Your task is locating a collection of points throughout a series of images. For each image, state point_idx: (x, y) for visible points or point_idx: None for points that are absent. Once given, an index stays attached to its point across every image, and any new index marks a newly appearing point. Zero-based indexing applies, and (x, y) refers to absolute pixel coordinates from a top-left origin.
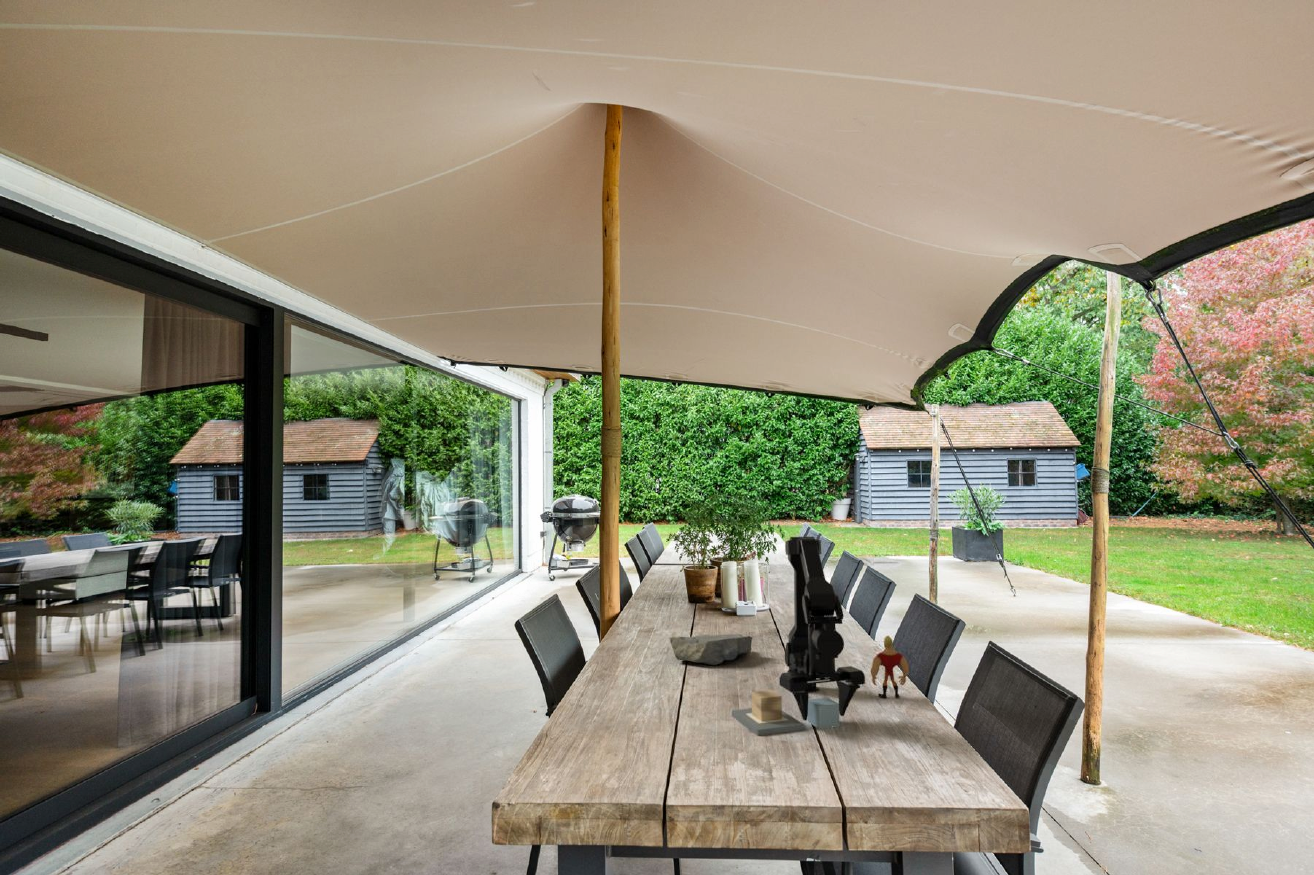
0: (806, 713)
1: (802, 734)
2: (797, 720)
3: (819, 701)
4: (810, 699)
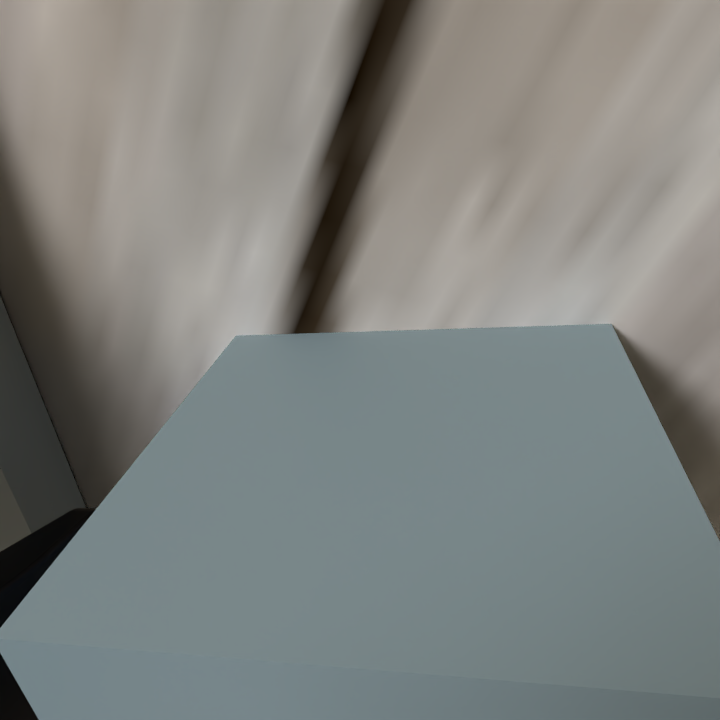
0: None
1: None
2: (5, 487)
3: None
4: (87, 658)
